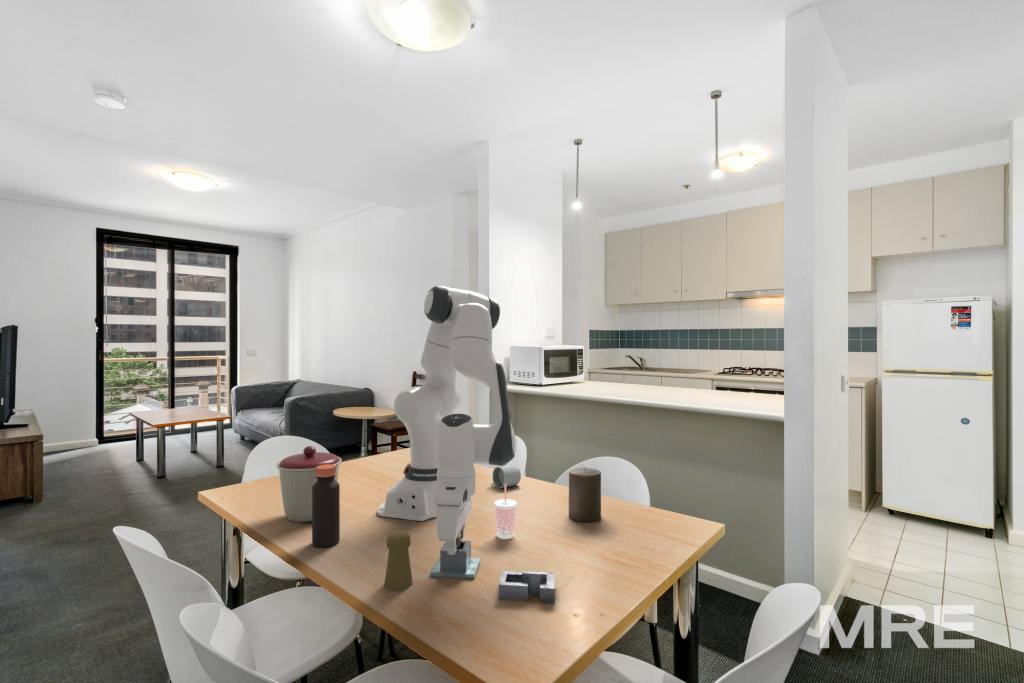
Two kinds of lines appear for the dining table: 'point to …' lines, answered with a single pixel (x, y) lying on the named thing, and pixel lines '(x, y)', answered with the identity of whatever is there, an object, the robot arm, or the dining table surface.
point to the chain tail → (527, 585)
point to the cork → (398, 562)
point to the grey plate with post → (457, 574)
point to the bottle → (325, 507)
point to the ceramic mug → (506, 476)
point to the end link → (456, 558)
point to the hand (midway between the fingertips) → (456, 545)
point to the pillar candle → (585, 494)
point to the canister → (302, 481)
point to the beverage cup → (505, 517)
